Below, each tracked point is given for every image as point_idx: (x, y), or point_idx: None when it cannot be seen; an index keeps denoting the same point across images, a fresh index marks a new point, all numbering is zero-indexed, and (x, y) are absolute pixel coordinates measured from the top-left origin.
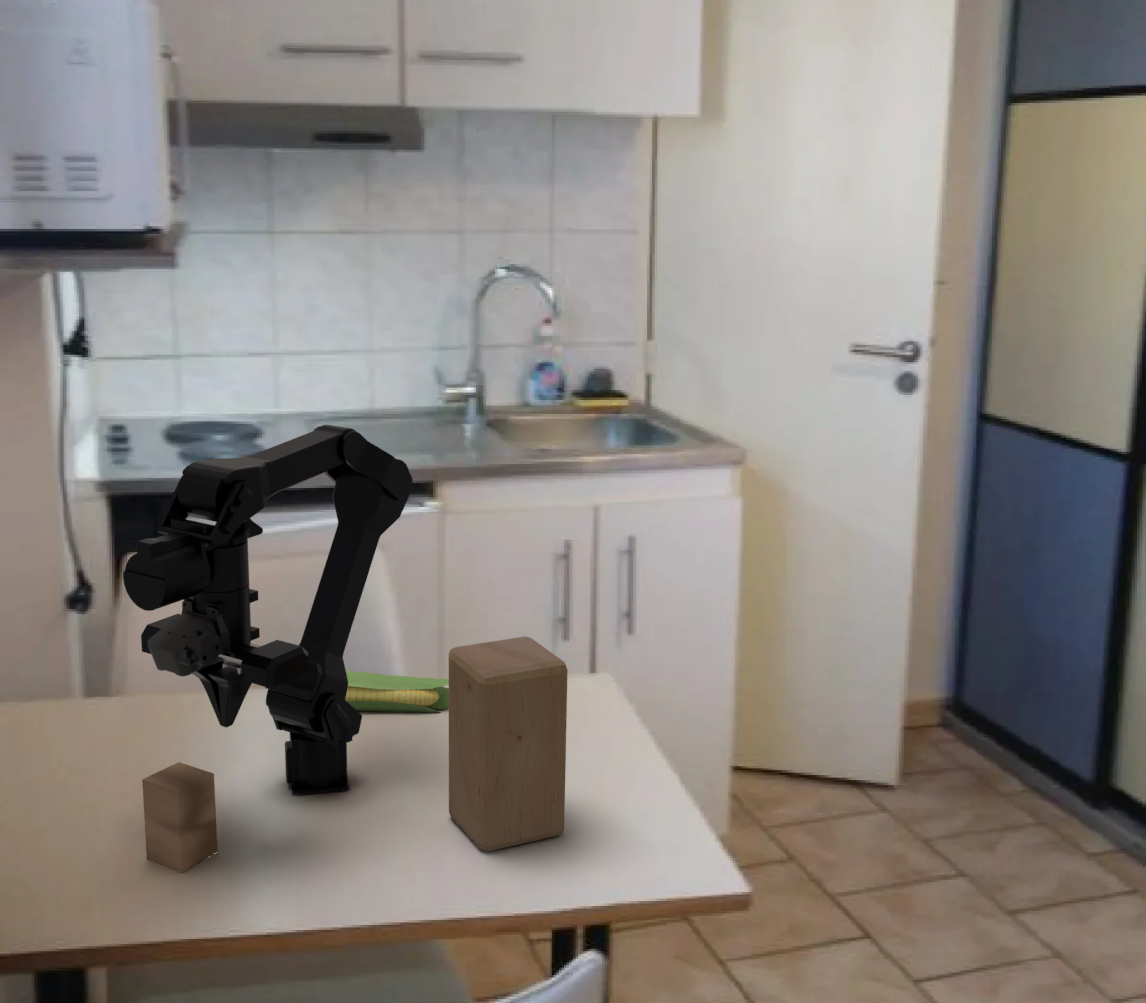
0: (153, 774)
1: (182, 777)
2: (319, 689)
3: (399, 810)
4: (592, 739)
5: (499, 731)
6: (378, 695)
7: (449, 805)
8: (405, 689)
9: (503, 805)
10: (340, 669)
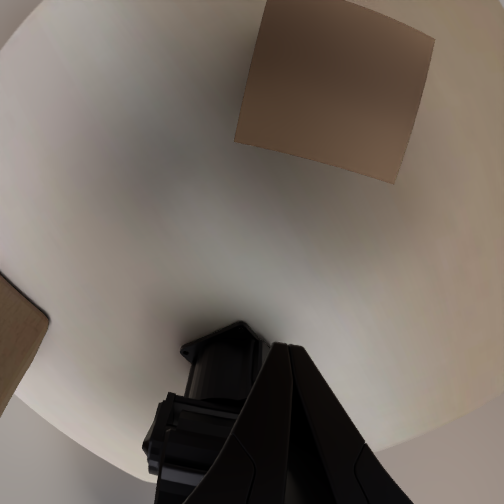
0: (423, 76)
1: (322, 77)
2: (157, 483)
3: (98, 320)
4: (80, 431)
5: None
6: None
7: (35, 322)
8: None
9: None
10: None
